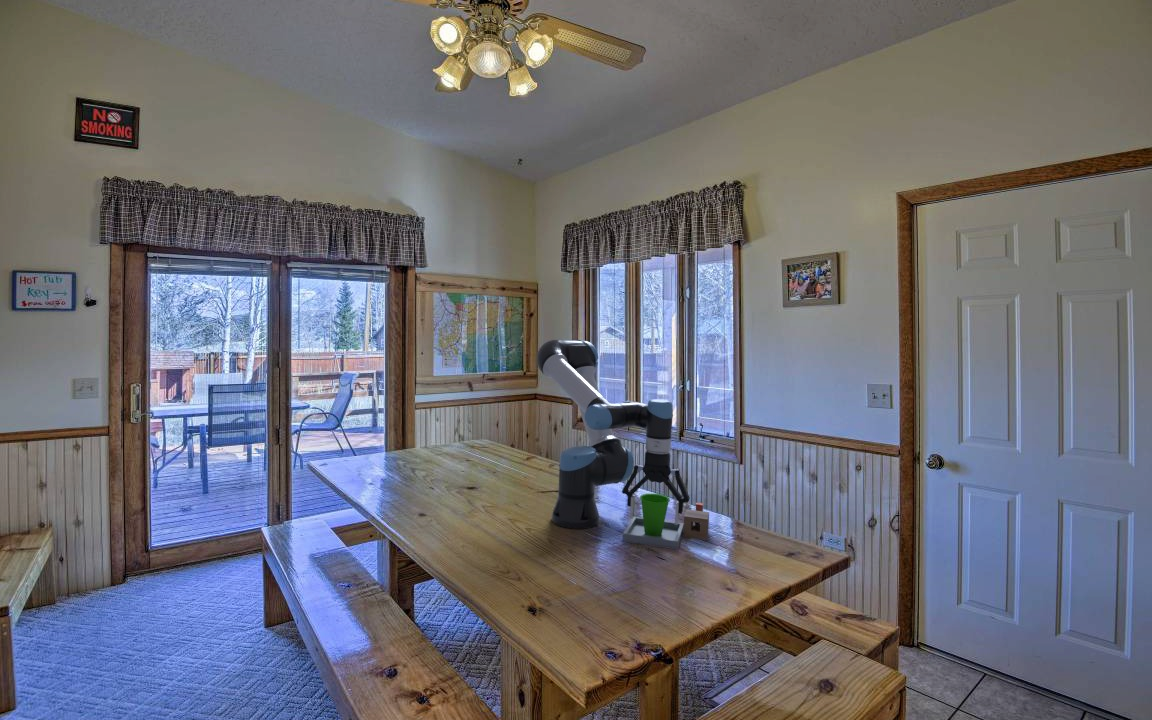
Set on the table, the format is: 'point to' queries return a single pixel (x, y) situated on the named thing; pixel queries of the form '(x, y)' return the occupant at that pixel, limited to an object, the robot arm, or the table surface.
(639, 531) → the tray
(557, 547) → the table surface
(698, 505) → the pin
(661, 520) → the cup
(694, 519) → the mount
